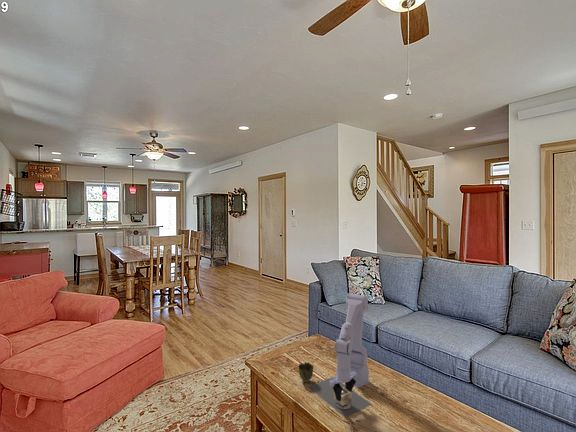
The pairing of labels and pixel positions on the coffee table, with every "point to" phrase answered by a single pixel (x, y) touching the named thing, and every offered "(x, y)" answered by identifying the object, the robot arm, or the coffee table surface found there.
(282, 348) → the coffee table surface
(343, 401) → the collar
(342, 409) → the post
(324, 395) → the mat
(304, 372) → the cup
